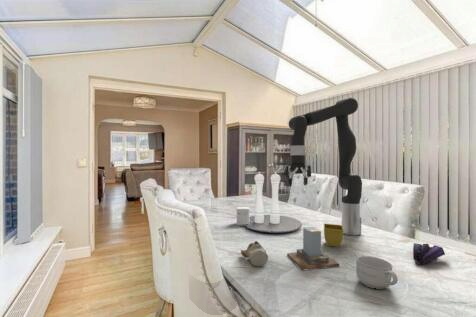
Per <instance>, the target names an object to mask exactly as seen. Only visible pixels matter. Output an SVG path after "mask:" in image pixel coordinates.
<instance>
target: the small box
mask: <svg viewBox="0 0 476 317" xmlns="http://www.w3.org/2000/svg"><path fill="white" fill-rule="evenodd" d="M250 221H251V220H250V206H237V207H236V226H243V225H242V224H249V223H251V222H250ZM249 225H250V224H249Z"/></svg>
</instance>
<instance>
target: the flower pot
mask: <svg viewBox="0 0 476 317" xmlns="http://www.w3.org/2000/svg"><path fill="white" fill-rule="evenodd" d="M343 231H344V230H343V226H342V224H333V223H323V233H324V234H323V235H324V241H325V243H326V245H327V246H328V247H335V248H336V247H337V248H339V247H340V246H341V244H342V242H343V237H344V233H343Z"/></svg>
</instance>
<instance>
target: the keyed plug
mask: <svg viewBox="0 0 476 317" xmlns="http://www.w3.org/2000/svg"><path fill="white" fill-rule="evenodd" d="M302 232H303V233H302V237H303V238H302V247H303V248H302V249H303V253H304V254H306V255H307V256H308V257H309V258H313V257H319V256H321V251H322V231H321V230H319V229H317V228H316V227H314V226H306V227H303V228H302Z"/></svg>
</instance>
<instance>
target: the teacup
mask: <svg viewBox="0 0 476 317" xmlns="http://www.w3.org/2000/svg"><path fill="white" fill-rule="evenodd" d="M355 259H356V260H355V261H356V265H355V271H356V273H355V274H356V277H357V278H358V280H359V281H360V282H361V283H362V284H363V285H364V284H365V285H364V286H366V287H368V288H371V289H374V288H376V289H375V290H382V288H383V289H385V288H389V287H390V286H394V285H396V284H397V283H398V275H397V274H396V273H395V272H394V271H393V264H392V263H391V262H389V261H387V260H385V259H384V258H383V259H382V258H381V257H380V258H379V257H375V256H370V255H361V256H359V255H358V256H357V257H356V258H355Z"/></svg>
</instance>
